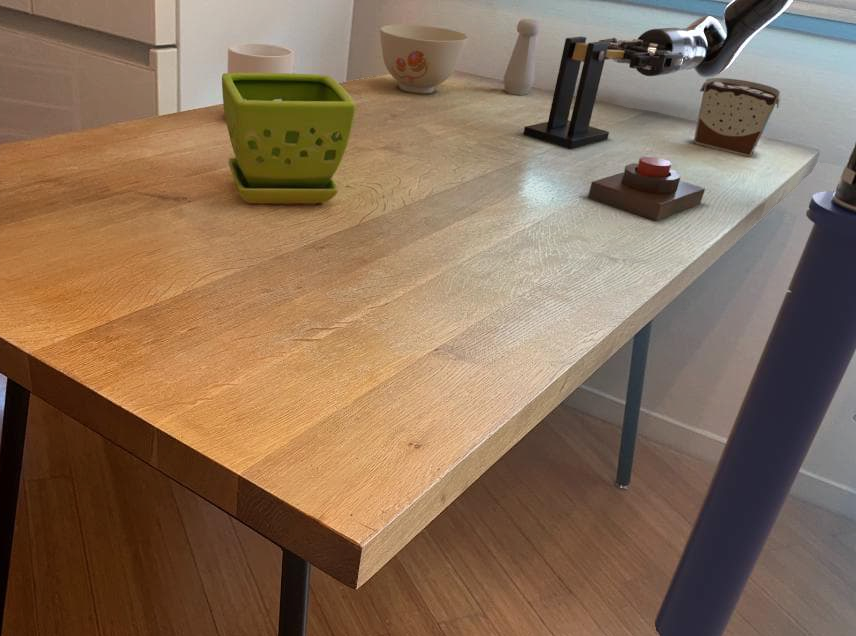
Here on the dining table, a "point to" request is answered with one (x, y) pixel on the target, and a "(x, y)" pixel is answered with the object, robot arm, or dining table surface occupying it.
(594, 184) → the block
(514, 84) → the salt shaker
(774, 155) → the dining table surface
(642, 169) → the button
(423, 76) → the bowl
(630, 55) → the lever
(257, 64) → the mug
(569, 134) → the lock bracket
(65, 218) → the dining table surface
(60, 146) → the dining table surface
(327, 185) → the flower pot
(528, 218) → the dining table surface
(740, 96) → the food container
